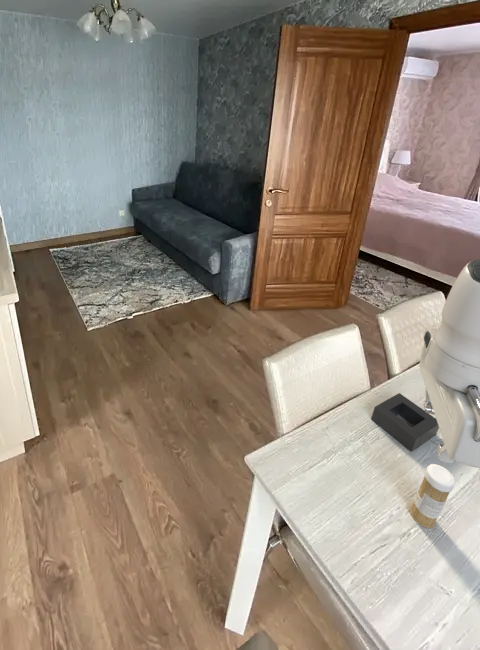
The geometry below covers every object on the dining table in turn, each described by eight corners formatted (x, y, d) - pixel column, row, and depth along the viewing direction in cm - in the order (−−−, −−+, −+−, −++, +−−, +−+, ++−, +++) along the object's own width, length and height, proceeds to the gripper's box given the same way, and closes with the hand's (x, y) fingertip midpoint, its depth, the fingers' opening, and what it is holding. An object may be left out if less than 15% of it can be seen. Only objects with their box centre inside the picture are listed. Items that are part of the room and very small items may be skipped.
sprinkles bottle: (412, 500, 75) (430, 458, 70) (437, 517, 72) (458, 474, 67) (406, 516, 72) (424, 473, 67) (432, 534, 69) (453, 491, 64)
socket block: (395, 404, 100) (399, 392, 98) (436, 434, 91) (441, 422, 89) (370, 419, 95) (374, 406, 93) (411, 452, 86) (416, 439, 84)
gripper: (524, 429, 41) (484, 504, 46) (467, 332, 58) (442, 394, 63) (459, 411, 43) (428, 484, 48) (423, 323, 60) (402, 384, 66)
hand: (436, 432), depth 56 cm, fingers open, 8 cm apart
